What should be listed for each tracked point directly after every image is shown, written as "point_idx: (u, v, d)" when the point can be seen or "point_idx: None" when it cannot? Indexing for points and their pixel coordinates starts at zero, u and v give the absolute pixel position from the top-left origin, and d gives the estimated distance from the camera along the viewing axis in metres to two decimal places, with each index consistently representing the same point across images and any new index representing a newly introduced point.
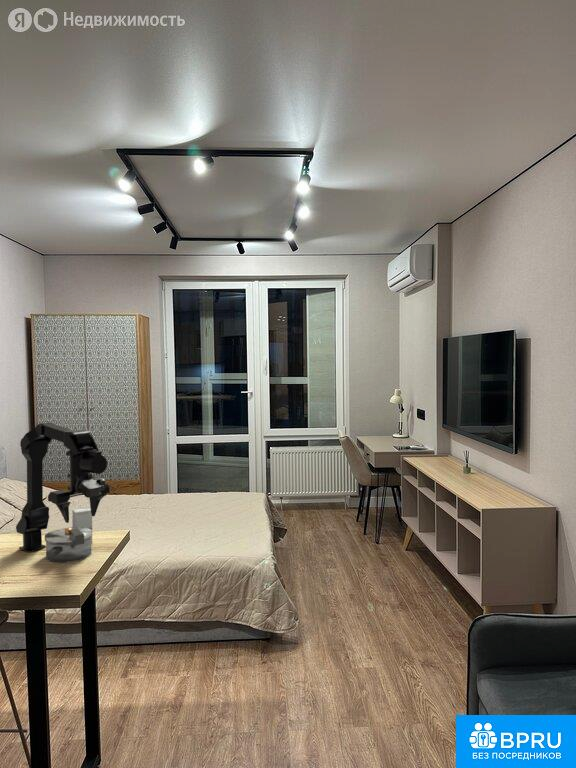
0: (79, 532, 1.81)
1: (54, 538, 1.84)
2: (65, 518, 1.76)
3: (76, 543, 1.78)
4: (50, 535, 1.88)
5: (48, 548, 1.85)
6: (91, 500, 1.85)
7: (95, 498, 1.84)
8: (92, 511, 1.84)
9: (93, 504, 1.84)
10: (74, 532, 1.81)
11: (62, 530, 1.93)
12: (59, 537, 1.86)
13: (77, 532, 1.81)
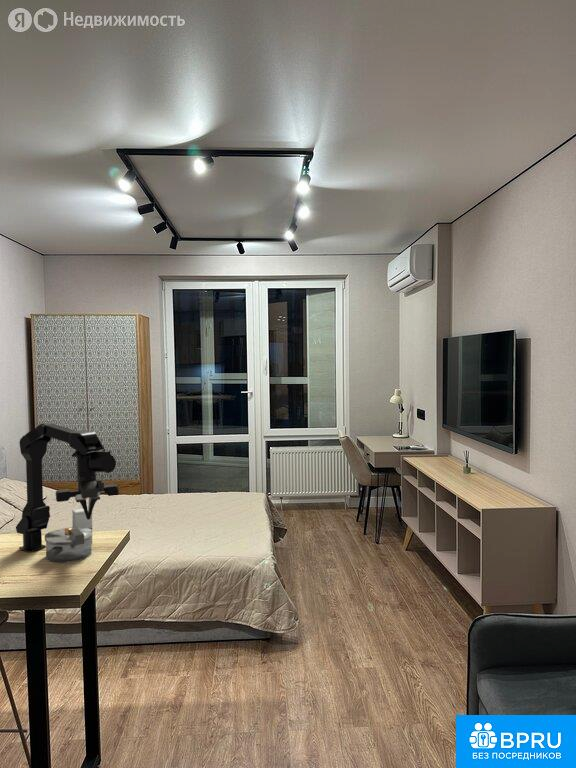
0: (79, 532, 1.81)
1: (54, 538, 1.84)
2: None
3: (76, 543, 1.78)
4: (50, 535, 1.88)
5: (48, 548, 1.85)
6: None
7: (89, 501, 1.83)
8: None
9: (89, 507, 1.84)
10: (74, 532, 1.81)
11: (62, 530, 1.93)
12: (59, 537, 1.86)
13: (77, 532, 1.81)
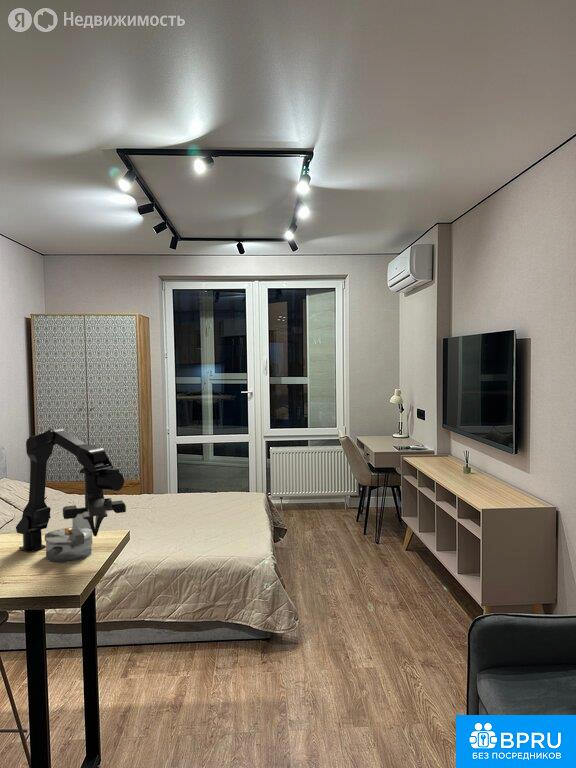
0: (79, 532, 1.81)
1: (54, 538, 1.84)
2: (92, 531, 1.82)
3: (76, 543, 1.78)
4: (50, 535, 1.88)
5: (48, 548, 1.85)
6: (95, 519, 1.84)
7: (97, 518, 1.82)
8: None
9: (95, 524, 1.83)
10: (74, 532, 1.81)
11: (62, 530, 1.93)
12: (59, 537, 1.86)
13: (77, 532, 1.81)
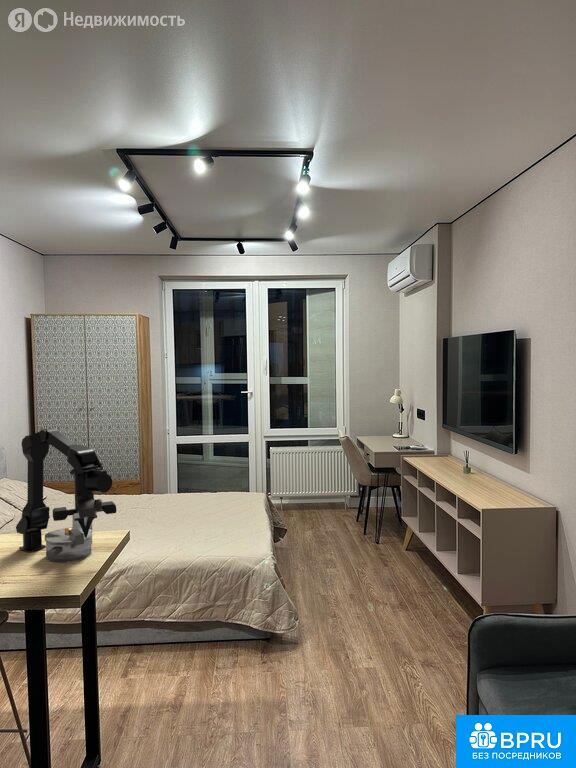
0: (79, 532, 1.81)
1: (54, 538, 1.84)
2: (83, 533, 1.81)
3: (76, 543, 1.78)
4: (50, 535, 1.88)
5: (48, 548, 1.85)
6: (85, 521, 1.83)
7: (86, 519, 1.81)
8: None
9: (85, 525, 1.82)
10: (73, 532, 1.81)
11: (62, 530, 1.93)
12: (59, 537, 1.86)
13: (77, 532, 1.81)
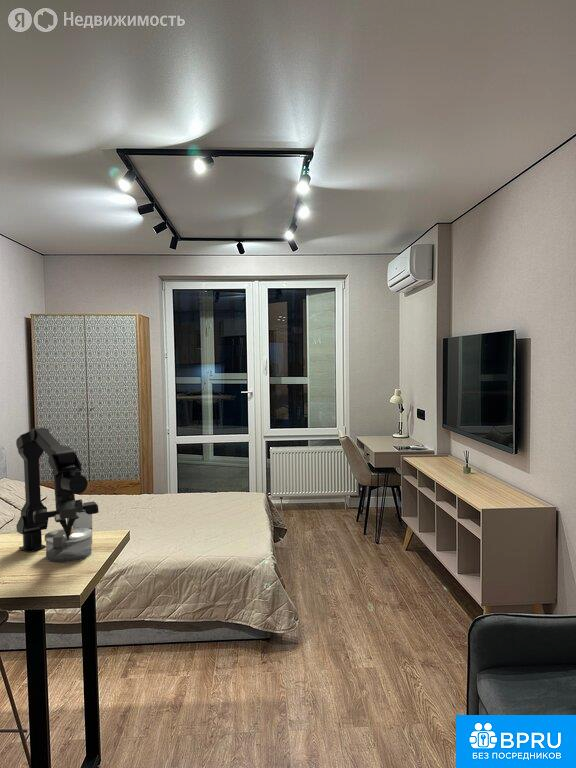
0: (61, 534, 1.79)
1: (49, 537, 1.86)
2: (66, 534, 1.79)
3: (54, 545, 1.76)
4: (52, 532, 1.91)
5: (48, 548, 1.85)
6: (67, 522, 1.80)
7: (68, 521, 1.78)
8: None
9: (67, 527, 1.79)
10: (58, 533, 1.80)
11: None
12: None
13: (60, 534, 1.79)
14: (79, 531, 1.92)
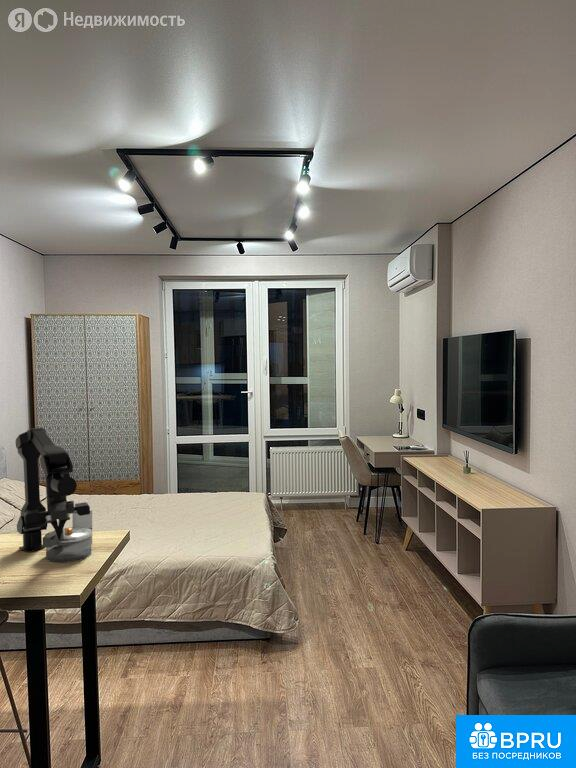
0: (53, 534, 1.78)
1: None
2: (57, 535, 1.78)
3: (43, 545, 1.76)
4: None
5: (48, 548, 1.85)
6: (58, 523, 1.79)
7: (59, 521, 1.77)
8: None
9: (58, 527, 1.78)
10: (50, 533, 1.80)
11: (73, 529, 1.95)
12: None
13: (51, 534, 1.79)
14: (80, 532, 1.91)
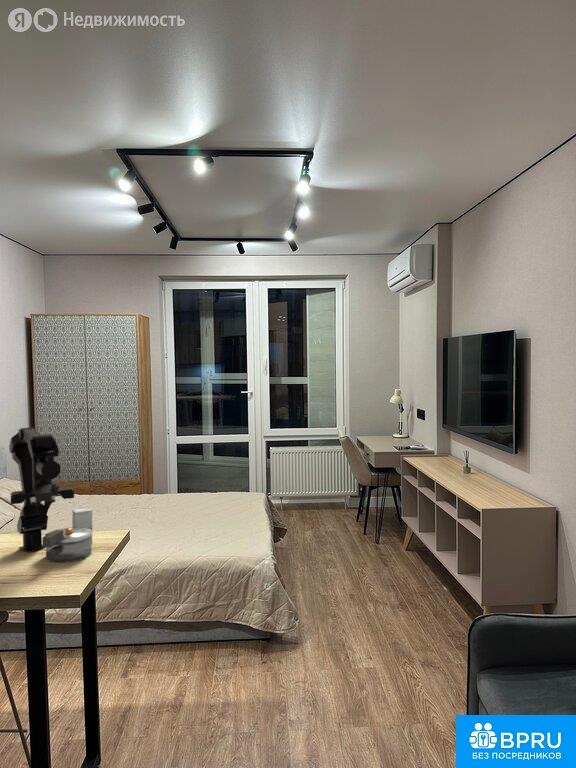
0: (53, 534, 1.78)
1: None
2: (40, 517, 1.85)
3: (43, 545, 1.76)
4: None
5: (48, 548, 1.85)
6: (44, 505, 1.87)
7: None
8: None
9: (44, 509, 1.85)
10: (50, 533, 1.80)
11: (73, 529, 1.95)
12: None
13: (51, 534, 1.79)
14: (80, 532, 1.91)
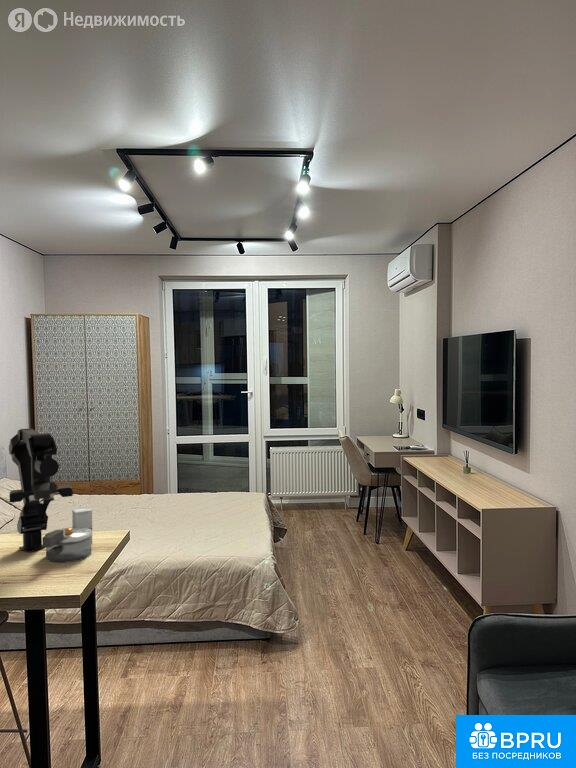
0: (53, 534, 1.78)
1: None
2: (39, 515, 1.86)
3: (43, 545, 1.76)
4: None
5: (48, 548, 1.85)
6: (43, 503, 1.87)
7: (43, 502, 1.85)
8: None
9: (42, 507, 1.86)
10: (50, 533, 1.80)
11: (73, 529, 1.95)
12: None
13: (51, 534, 1.79)
14: (80, 532, 1.91)
